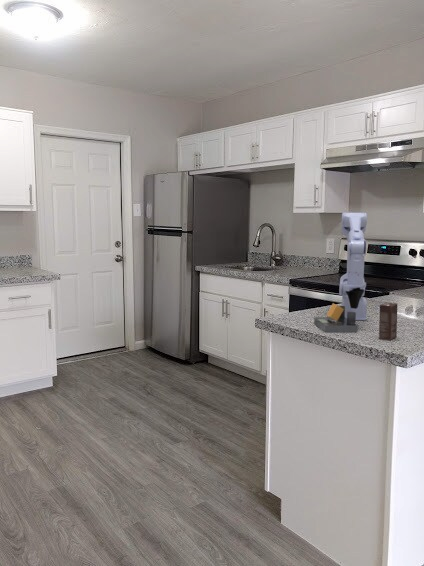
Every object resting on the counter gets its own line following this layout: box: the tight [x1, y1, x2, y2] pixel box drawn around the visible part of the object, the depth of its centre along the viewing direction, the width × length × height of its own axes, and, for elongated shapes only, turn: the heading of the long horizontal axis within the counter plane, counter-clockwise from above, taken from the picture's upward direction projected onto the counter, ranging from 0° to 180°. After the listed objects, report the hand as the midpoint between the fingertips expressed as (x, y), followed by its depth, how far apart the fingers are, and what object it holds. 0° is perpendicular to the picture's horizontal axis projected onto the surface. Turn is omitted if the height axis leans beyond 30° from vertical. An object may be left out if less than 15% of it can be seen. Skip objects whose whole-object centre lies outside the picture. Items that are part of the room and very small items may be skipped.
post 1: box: [338, 305, 345, 319], centre depth 190 cm, size 3×3×4 cm
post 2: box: [347, 312, 357, 326], centre depth 178 cm, size 3×3×4 cm
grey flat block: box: [313, 316, 359, 334], centre depth 184 cm, size 12×15×3 cm
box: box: [378, 302, 398, 341], centre depth 168 cm, size 6×4×12 cm
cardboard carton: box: [326, 302, 344, 322], centre depth 183 cm, size 3×6×6 cm, turn 4°
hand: (354, 308), depth 183 cm, fingers closed
